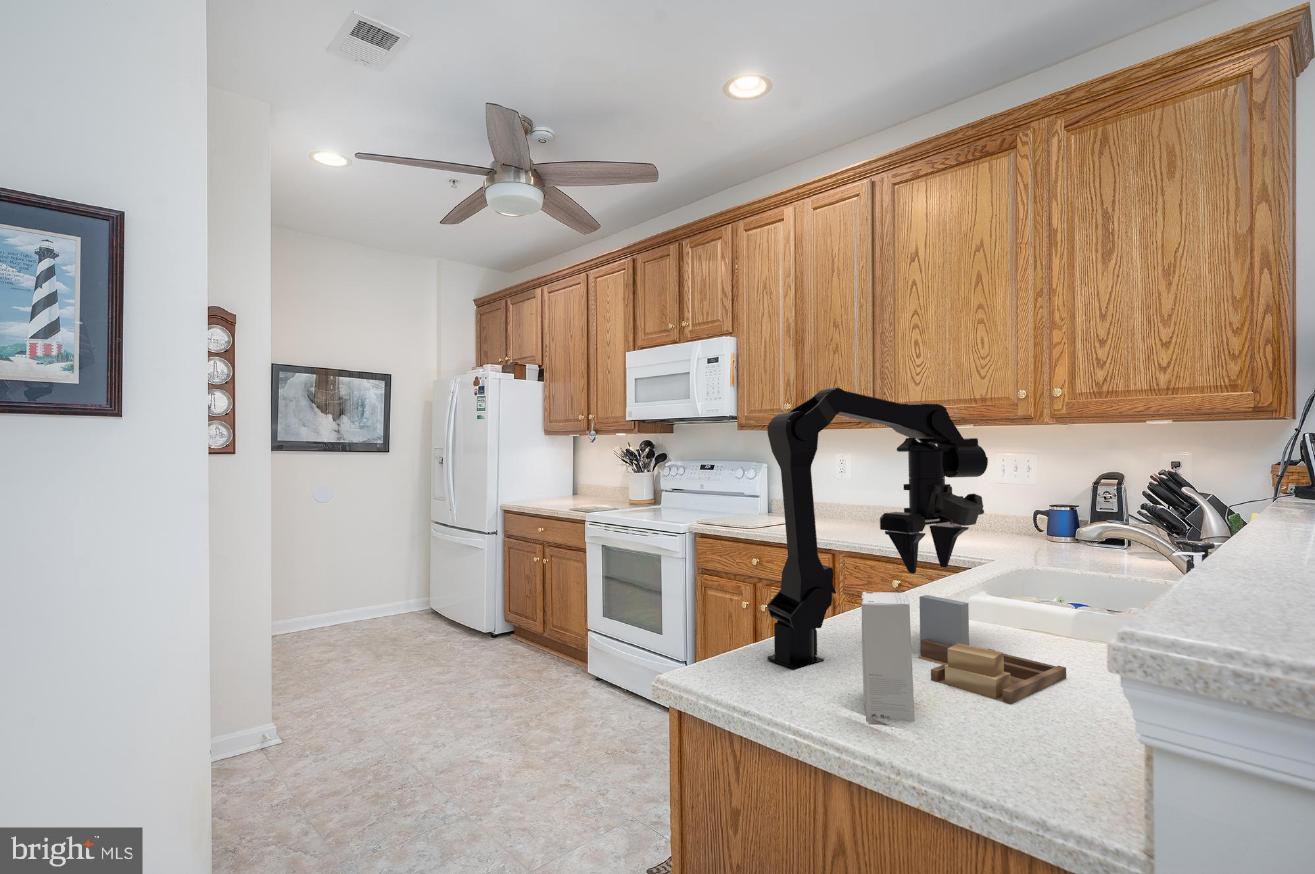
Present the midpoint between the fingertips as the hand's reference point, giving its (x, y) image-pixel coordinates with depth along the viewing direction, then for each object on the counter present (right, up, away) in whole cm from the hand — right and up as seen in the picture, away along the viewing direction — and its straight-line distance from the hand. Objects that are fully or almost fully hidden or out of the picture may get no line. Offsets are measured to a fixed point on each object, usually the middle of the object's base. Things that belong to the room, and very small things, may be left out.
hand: (928, 570), depth 110 cm
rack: (+2, -13, -18) cm, 22 cm away
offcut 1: (-3, -9, -22) cm, 24 cm away
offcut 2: (-2, -12, -22) cm, 25 cm away
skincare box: (-17, -13, -28) cm, 35 cm away
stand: (-1, -13, -9) cm, 16 cm away
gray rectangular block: (-1, -12, -9) cm, 15 cm away
